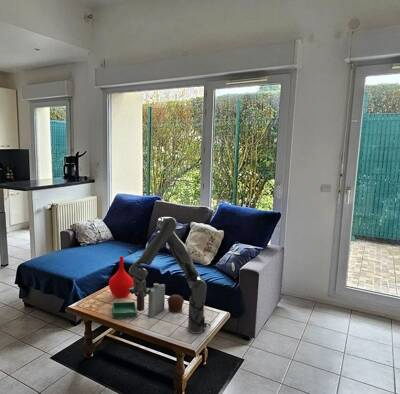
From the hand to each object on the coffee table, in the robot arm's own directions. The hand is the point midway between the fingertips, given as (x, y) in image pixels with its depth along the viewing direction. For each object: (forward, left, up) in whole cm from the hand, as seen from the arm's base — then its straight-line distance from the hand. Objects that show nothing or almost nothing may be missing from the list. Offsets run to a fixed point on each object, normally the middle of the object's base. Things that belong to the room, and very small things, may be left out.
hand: (140, 295), depth 216 cm
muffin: (-26, -13, -18) cm, 34 cm away
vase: (+10, -39, -18) cm, 44 cm away
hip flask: (-12, -10, -18) cm, 23 cm away
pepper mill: (0, +2, -9) cm, 9 cm away
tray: (+9, -12, -17) cm, 23 cm away
